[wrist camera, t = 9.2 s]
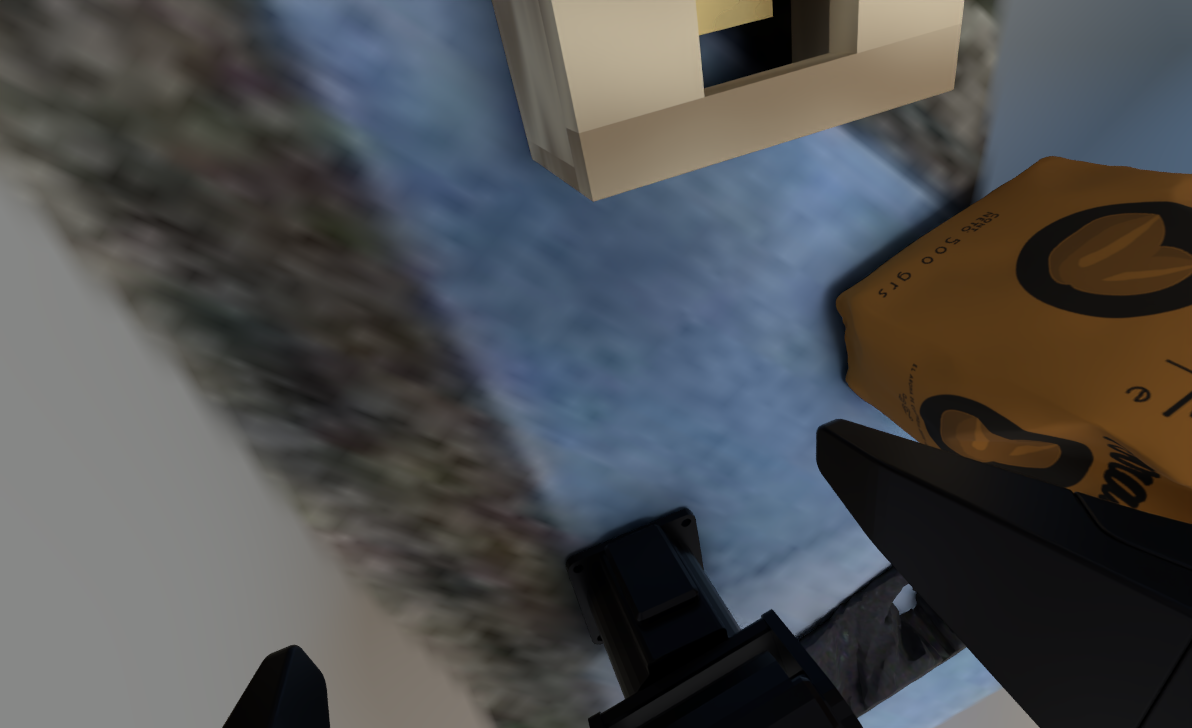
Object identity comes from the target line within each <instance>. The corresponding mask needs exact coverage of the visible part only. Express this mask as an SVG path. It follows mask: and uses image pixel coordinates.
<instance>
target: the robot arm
mask: <svg viewBox="0 0 1192 728" xmlns="http://www.w3.org/2000/svg"><path fill="white" fill-rule="evenodd" d="M816 461H817V465H818V468H819V470H820V472H821V474H822V475H823V476H824V478H825V479H826V481H827V482H828V483H829V485H830V486H831V487H832V489H833V490H834V491H835V493H836V494H837V496H838V497H839V498H840V500H841V501H842V502H843V504H844V505H845V506H846V508H847V509H848V511H849V512H850V513H851V515H852V516H853V517H854V519H855V520H856V521H857V523H858V524H859V526H860V527H861V528H862V530H863V531H864V532H865V534H866V535H867V536H868V537H869V539H870V540H871V541H872V543H873V544H874V545H875V546H876V547H877V548H878V549H879V551H880V552H881V553H882V554H883V555H884V556H885V557H886V559H887V560H888V561H889V562H890V563H891V564H892V565H893V566H894V567H895V568H896V570H897V571H898V572H899V573H900V574H901V575H902V576H903V577H904V578H905V579H906V581H907V582H908V583H909V584H910V585H911V586H912V587H913V588H914V589H915V591H916V592H917V593H918V594H919V595H920V596H921V597H922V598H923V599H924V600H925V602H926V603H927V604H928V605H929V606H930V607H931V608H932V609H933V610H934V611H935V613H936V614H937V615H938V616H939V617H940V618H941V619H942V620H943V621H944V623H945V624H946V625H947V626H948V627H949V628H950V629H951V630H952V631H953V632H954V634H955V635H956V636H957V637H958V638H959V639H960V640H961V641H962V642H963V644H964V645H965V646H966V647H967V648H968V649H969V650H970V651H971V652H972V653H973V655H974V656H975V657H976V658H977V659H978V660H979V661H980V662H981V663H982V664H983V666H984V667H985V668H986V669H987V670H988V671H989V672H990V673H991V674H992V676H993V677H994V678H995V679H996V680H997V681H998V682H999V683H1000V684H1001V685H1002V687H1003V688H1004V689H1005V690H1006V691H1007V692H1008V693H1009V694H1010V695H1011V696H1012V697H1013V699H1014V700H1015V701H1016V702H1017V703H1018V704H1019V705H1020V706H1021V707H1022V709H1023V710H1024V711H1025V712H1026V713H1027V714H1028V715H1029V716H1030V717H1031V719H1032V720H1033V721H1034V722H1035V723H1036V724H1037V725H1038V726H1039V727H1040V728H1192V524H1190V523H1186V522H1182V521H1178V520H1174V519H1170V518H1167V517H1163V516H1159V515H1155V514H1151V513H1148V512H1144V511H1141V510H1138V509H1134V508H1131V507H1127V506H1124V505H1120V504H1117V503H1114V502H1110V501H1107V500H1103V499H1100V498H1097V497H1094V496H1090V495H1087V494H1084V493H1081V492H1074V493H1073V492H1072V490H1070V489H1067V488H1064V487H1061V486H1058V485H1054V484H1051V483H1048V482H1045V481H1041V480H1038V479H1035V478H1032V477H1028V476H1025V475H1022V474H1019V473H1015V472H1012V471H1009V470H1006V469H1003V468H999V467H996V466H993V465H990V464H986V463H983V462H980V461H977V460H973V459H970V458H967V457H964V456H960V455H957V454H954V453H951V452H947V451H944V450H941V449H938V448H935V447H931V446H928V445H925V444H922V443H918V442H915V441H912V440H909V439H905V438H902V437H899V436H896V435H892V434H889V433H886V432H883V431H879V430H876V429H873V428H870V427H866V426H863V425H860V424H857V423H854V422H850V421H847V420H843V419H835V420H833V421H830V422H828V423H825V424H823V425H821V426H819V427H818V429H817V432H816ZM683 520H684V521H683ZM577 565H578V566H577ZM566 568H567V571H568V574H569V577H570V579H571V582H572V585H573V588H574V591H575V594H576V596H577V599H578V602H579V605H580V608H581V610H582V613H583V616H584V619H585V622H586V624H587V627H588V630H589V633H590V636H591V638H592V641H593V643H594V644H603V643H604V646H605V649H606V651H607V654H608V656H609V659H610V661H611V664H612V667H613V669H614V672H615V674H616V677H617V679H618V682H619V685H620V687H621V690H622V692H623V695H624V697H625V700H623V701H621V702H620V703H618V704H616V705H615V706H613V707H611V708H610V709H608V710H606V711H605V712H603V713H601V712H598V713H597V714H595V715H593V716H591V717H590V718H588V721H589V726H590V728H863V727H862V725H861V724H860V722H859V720H858V719H857V717H856V716H855V714H854V713H853V711H852V710H851V708H850V707H849V705H848V704H847V702H846V701H845V699H844V698H843V697H842V695H841V694H840V692H839V691H838V690H837V688H836V687H835V686H834V684H833V683H832V682H831V680H830V679H829V678H828V677H827V675H826V674H825V673H824V672H823V671H822V669H821V668H820V667H819V666H818V664H817V663H816V662H815V661H814V660H813V658H812V657H811V656H810V655H809V653H808V652H807V651H806V650H805V649H804V647H803V646H802V645H801V644H800V642H799V641H798V640H797V639H796V638H795V636H794V635H793V634H792V633H791V632H790V630H789V629H788V628H787V627H786V625H785V624H784V623H783V622H782V621H781V619H780V618H779V617H778V616H777V614H776V613H775V612H774V611H773V610H772V609H771V610H769V611H768V612H766V613H764V614H763V615H761V619H759V620H757V621H756V622H754V623H752V624H751V625H749V626H747V627H745V628H744V629H742V630H741V629H740V627H739V626H738V624H737V622H736V621H735V619H734V618H733V616H732V615H731V613H730V611H729V610H728V608H727V607H726V605H725V604H724V602H723V600H722V599H721V597H720V596H719V594H718V592H717V591H716V589H715V588H714V586H713V585H712V583H711V581H710V580H709V578H708V577H707V575H706V574H705V572H704V568H703V562H702V556H701V549H700V543H699V537H698V530H697V524H696V518H695V516H694V515H693V513H692V512H691V511H690V510H689V509H683V510H680V511H677V512H675V513H673V514H670V515H668V516H666V517H663V518H661V519H659V520H656V521H654V522H651V523H649V524H647V525H644V526H642V527H640V528H637V529H635V530H633V531H630V532H628V533H626V534H623V535H621V536H618V537H616V538H614V539H611V540H609V541H607V542H604V543H602V544H600V545H597V546H595V547H592V548H590V549H588V550H585V551H583V552H581V553H578V554H576V555H574V556H572V557H570V558H569V559H568V560H567V562H566ZM222 728H330V722H329V710H328V698H327V688H326V683H325V679H324V676H323V674H322V673H321V671H320V670H319V669H318V667H317V666H316V665H315V664H314V663H313V661H312V660H311V659H310V658H309V657H308V655H307V654H306V653H305V652H304V651H303V650H302V648H300V647H299V646H297V645H290V646H288V647H286V648H283V649H281V650H279V651H276V652H274V653H271V654H269V655H268V656H267V657H266V658H265V659H264V660H263V662H262V663H261V665H260V666H259V668H258V670H257V671H256V673H255V675H254V676H253V678H252V680H251V681H250V683H249V685H248V686H247V688H246V689H245V691H244V693H243V694H242V696H241V698H240V699H239V701H238V702H237V704H236V706H235V708H234V709H233V711H232V713H231V714H230V716H229V717H228V719H227V721H226V722H225V724H224V725H223V727H222Z"/></svg>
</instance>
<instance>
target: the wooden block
mask: <svg viewBox="0 0 1192 728" xmlns="http://www.w3.org/2000/svg"><path fill="white" fill-rule="evenodd" d="M696 11H697V21H698V32H699V35H702V34H706V33H710V32H714V31H718V30H722V29H726V28H730V27H734V26H738V25H742V24H746V23H750V22H754V21H757V20H761V19H765V18H769V17H773V7H772V0H696Z"/></svg>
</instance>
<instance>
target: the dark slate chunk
mask: <svg viewBox="0 0 1192 728" xmlns="http://www.w3.org/2000/svg"><path fill="white" fill-rule="evenodd" d="M907 584H909V583H908V582H907V581H906V579H905V578H904V577H903V576H902V575H901V574H900V573H899V572H898V571H897V570H896V568H895V567H892V568H890V569H889V570H888V571H886V572H885V573H884V574H882V575H881V576H879V577H877V578H876V579H874V580H873V581H871V582H870V583H869V584H868V586H867V587H866V588H865V589H864V590H862V591H860V592H858V593H856V594H855V595H853V596H852V598H851V599H850V600H849V601H848V603H845V604H841V605H840V606H839V608H838V609H837V610H836V611H835V612H834V613H833V615H832V617H831V618H830V619H829V620H828V621H826V622H825V623H823V624H822V625H821V626H820V627H818V628H817V629H815V630H814V631H812V632H810V633H809V634H807V635H806V636H804V637H803V638H802V639H801V640H800V644H801V645H802V646H803V647H804V649H805V650H806V651H807V652H808V653H809V655H810V656H811V657H812V658H813V660H814V661H815V662H816V663H817V664H818V666H819V667H820V668H821V669H822V671H823V672H824V673H825V674H826V675H827V677H828V678H829V679H830V680H831V682H832V683H833V684H834V686H835V687H836V688H837V690H838V691H839V692H840V694H841V695H842V697H843V698H844V699H845V701H846V702H847V704H848V705H849V707H850V708H851V710H852V711H853V713H854V714H855V716H856V717H857V718H858V717H860V716H861V715H863V714H865V713H866V712H868V711H869V710H871V709H872V708H874V707H875V706H877V705H878V704H880V703H881V702H883V701H884V700H886V699H888V698H889V697H891V696H893V695H894V694H896V693H897V692H899V691H900V690H902V689H903V688H905V687H906V686H907V685H909V684H911V683H912V682H914V681H916V680H918V679H919V678H921V677H922V676H924V675H925V674H927V673H928V672H930V671H931V670H933V669H934V668H935V667H937V666H939V665H940V664H942V663H944V662H945V661H947V660H948V659H950V658H951V657H953V656H955V655H956V654H957V653H959V652H960V651H962V650H963V649H964V648H966V646H965V645H964V644H963V642H962V641H961V640H960V639H959V638H958V637H957V636H956V635H955V634H954V632H953V631H952V630H951V629H950V628H949V627H948V626H947V625H946V624H945V623H944V621H943V620H942V619H941V618H940V617H939V616H938V615H937V614H936V613H935V611H934V610H933V609H932V608H931V607H930V606H929V605H928V604H927V603H926V602H925V600H924V599H923V598H922V597H921V596H920V595H919V594H918V593H917V594H916V601H917V605H916V606H915V608H914V610H913V609H910V610H909V611H908V612H905V613H903V614H901V615H900V616H899V612H898V609H897V608H896V606H895V605H894V604H893V603H892V602H893V600H894V599H895V598H896V596H897V595H898V594H899V592H900V591H901V590H902V588H903V587H904V586H905V585H907ZM913 590H914V591H915V589H914V588H913Z"/></svg>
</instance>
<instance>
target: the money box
mask: <svg viewBox="0 0 1192 728" xmlns="http://www.w3.org/2000/svg"><path fill="white" fill-rule="evenodd" d="M492 4H493V7H494V11H495V15H496V19H497V23H498V27H499V31H500V35H501V39H502V43H503V47H504V51H505V54H506V58H507V62H508V66H509V70H510V74H511V78H512V82H513V86H514V90H515V94H516V98H517V101H518V105H519V109H520V113H521V117H522V121H523V125H524V129H525V133H526V137H527V141H528V144H529V148H530V152H531V156H532V159H533V160H535V161H536V162H537V163H539V164H540V165H542V166H543V167H544V168H546V169H547V170H549V171H550V172H552V173H553V174H554V175H556V176H557V177H559V178H560V179H562V180H563V181H564V182H566V183H567V184H569V185H570V186H572V187H573V188H574V189H576V190H577V191H579V192H580V193H581V194H583V195H584V196H586V197H587V198H589V199H590V200H591V201H593V202H594V201H597V200H600V199H604V198H607V197H610V196H613V195H616V194H620V193H623V192H626V191H629V190H633V189H636V188H639V187H642V186H645V185H649V184H652V183H655V182H658V181H662V180H665V179H668V178H671V177H674V176H678V175H681V174H684V173H687V172H690V171H694V170H697V169H700V168H703V167H707V166H710V165H713V164H716V163H719V162H723V161H726V160H729V159H732V158H735V157H739V156H742V155H745V154H748V153H752V152H755V151H758V150H761V149H764V148H768V147H771V146H774V145H777V144H780V143H784V142H787V141H790V140H793V139H797V138H800V137H803V136H806V135H809V134H813V133H816V132H819V131H822V130H826V129H829V128H832V127H835V126H838V125H842V124H845V123H848V122H851V121H854V120H858V119H861V118H864V117H867V116H871V115H874V114H877V113H880V112H883V111H887V110H890V109H893V108H896V107H899V106H903V105H906V104H909V103H912V102H916V101H919V100H922V99H925V98H928V97H932V96H935V95H938V94H941V93H944V92H948V91H951V90H954V82H955V74H956V65H957V57H958V49H959V40H960V32H961V23H962V15H963V7H964V0H791V34H792V64H788V65H785V66H781V67H778V68H774V69H771V70H767V71H764V72H760V73H757V74H753V75H750V76H746V77H743V78H739V79H736V80H732V81H729V82H725V83H722V84H718V85H715V86H711V87H707V88H704V85H703V75H702V64H701V53H700V43H699V32H698V21H697V11H696V0H492Z"/></svg>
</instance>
